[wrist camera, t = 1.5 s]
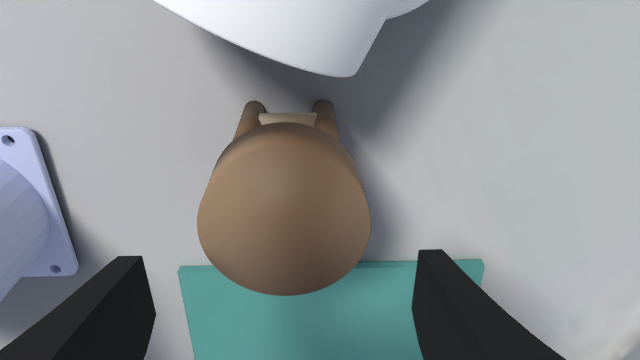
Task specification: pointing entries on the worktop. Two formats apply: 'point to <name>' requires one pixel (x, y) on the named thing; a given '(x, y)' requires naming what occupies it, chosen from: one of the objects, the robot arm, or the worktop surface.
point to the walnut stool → (285, 204)
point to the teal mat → (308, 316)
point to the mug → (297, 28)
